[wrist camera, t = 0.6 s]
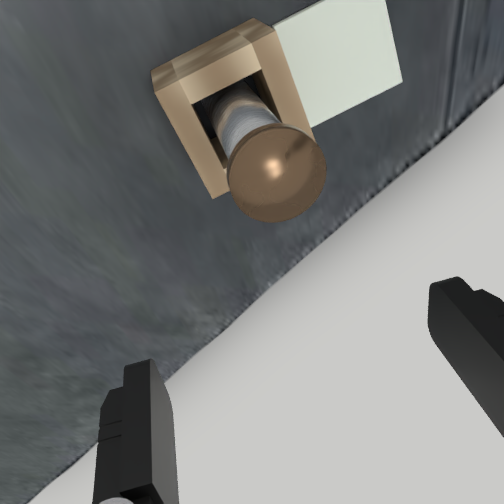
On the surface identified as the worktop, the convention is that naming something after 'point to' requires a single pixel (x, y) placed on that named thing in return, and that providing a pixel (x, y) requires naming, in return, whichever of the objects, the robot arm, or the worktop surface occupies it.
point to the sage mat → (339, 54)
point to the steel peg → (264, 156)
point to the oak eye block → (218, 77)
